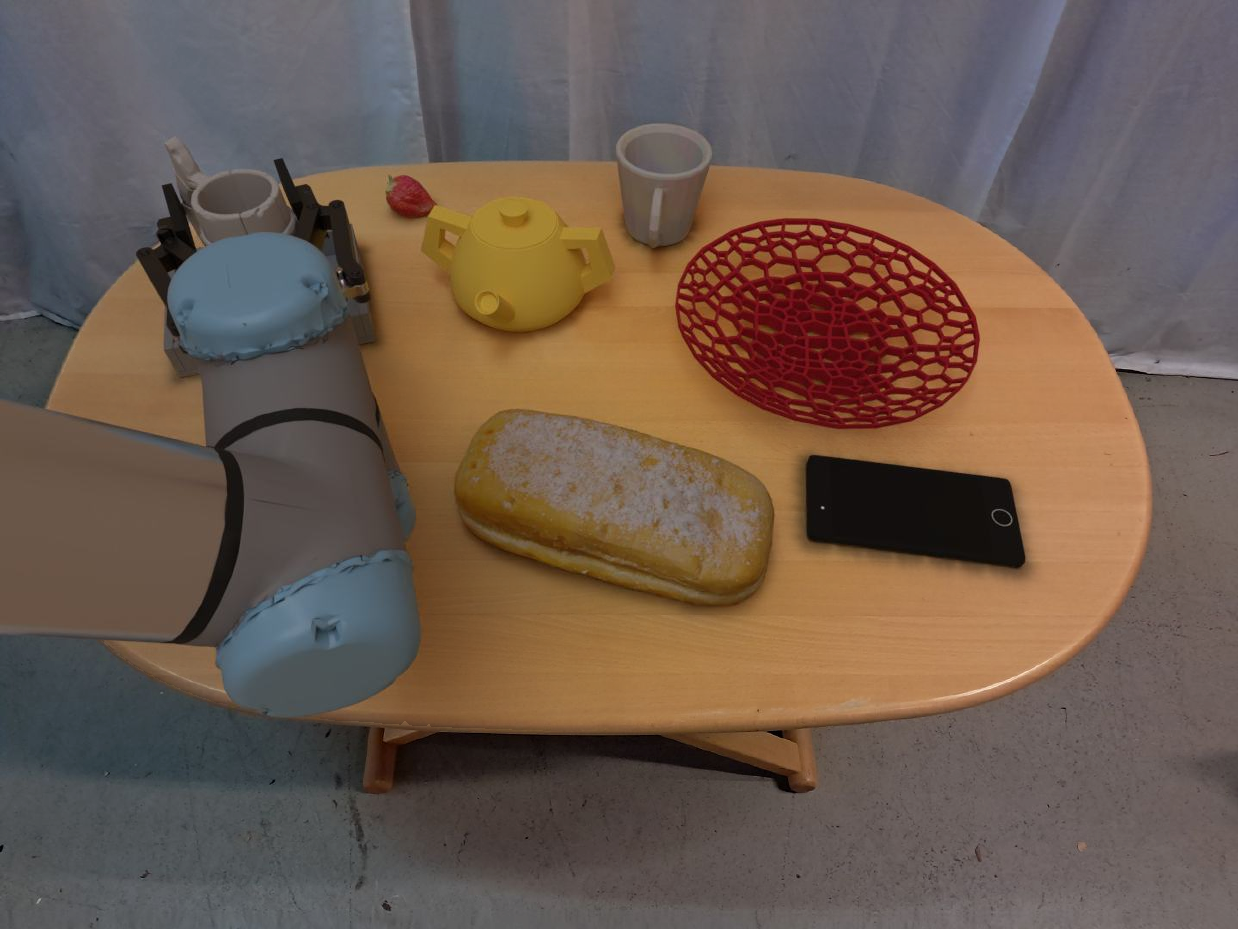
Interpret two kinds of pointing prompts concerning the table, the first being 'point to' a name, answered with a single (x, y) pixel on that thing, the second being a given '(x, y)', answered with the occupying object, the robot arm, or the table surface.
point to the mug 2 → (661, 180)
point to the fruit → (408, 197)
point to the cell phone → (912, 510)
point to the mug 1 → (229, 199)
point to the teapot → (517, 262)
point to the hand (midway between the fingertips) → (229, 185)
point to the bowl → (824, 327)
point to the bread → (617, 506)
